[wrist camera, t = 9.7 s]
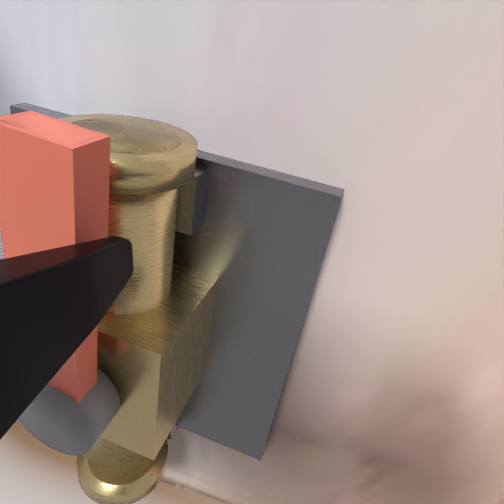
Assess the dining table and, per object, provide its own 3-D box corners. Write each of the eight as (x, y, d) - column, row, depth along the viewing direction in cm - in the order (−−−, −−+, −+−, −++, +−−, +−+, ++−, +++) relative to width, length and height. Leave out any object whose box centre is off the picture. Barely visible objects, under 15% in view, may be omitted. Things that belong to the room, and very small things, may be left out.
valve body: (261, 457, 23) (225, 568, 18) (57, 374, 26) (-21, 452, 21) (352, 163, 14) (328, 229, 9) (21, 78, 17) (-133, 94, 12)
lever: (118, 430, 16) (92, 467, 14) (48, 398, 16) (17, 431, 15) (135, 140, 9) (91, 157, 8) (22, 103, 10) (-36, 113, 9)
